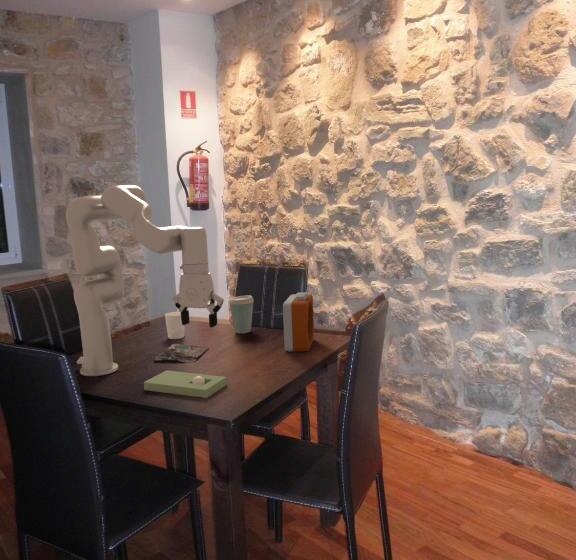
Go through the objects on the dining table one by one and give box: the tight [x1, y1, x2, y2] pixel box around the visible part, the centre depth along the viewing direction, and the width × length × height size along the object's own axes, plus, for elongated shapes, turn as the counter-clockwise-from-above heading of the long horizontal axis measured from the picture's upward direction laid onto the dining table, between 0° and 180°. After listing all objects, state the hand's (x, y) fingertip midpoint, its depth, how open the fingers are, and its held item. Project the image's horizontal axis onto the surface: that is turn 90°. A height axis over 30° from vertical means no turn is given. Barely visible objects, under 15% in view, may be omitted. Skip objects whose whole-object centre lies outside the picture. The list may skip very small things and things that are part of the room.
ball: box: [192, 376, 205, 385], centre depth 180 cm, size 4×4×4 cm
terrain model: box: [153, 343, 210, 364], centre depth 218 cm, size 20×15×3 cm
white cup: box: [164, 311, 186, 340], centre depth 243 cm, size 8×8×10 cm
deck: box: [143, 369, 228, 399], centre depth 182 cm, size 22×12×2 cm, turn 66°
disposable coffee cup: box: [228, 295, 255, 334], centre depth 247 cm, size 11×11×15 cm
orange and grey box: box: [282, 292, 315, 353], centre depth 221 cm, size 18×9×21 cm, turn 170°
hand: (199, 325), depth 176 cm, fingers open, 9 cm apart
